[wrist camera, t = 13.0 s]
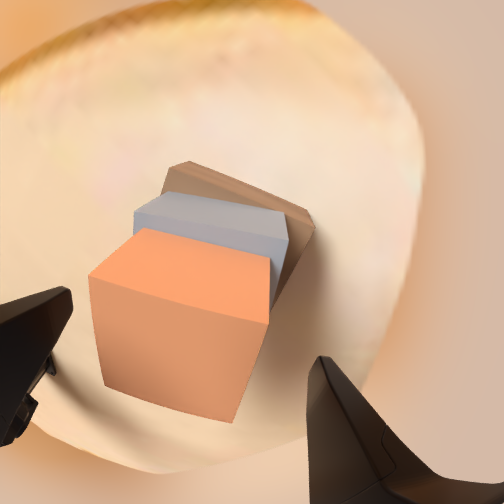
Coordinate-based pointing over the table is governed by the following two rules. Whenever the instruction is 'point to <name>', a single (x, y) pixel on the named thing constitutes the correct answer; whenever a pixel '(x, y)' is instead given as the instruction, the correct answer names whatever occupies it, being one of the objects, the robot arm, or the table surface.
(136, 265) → the terracotta block
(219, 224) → the grey block
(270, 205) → the walnut base
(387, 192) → the table surface
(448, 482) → the robot arm
